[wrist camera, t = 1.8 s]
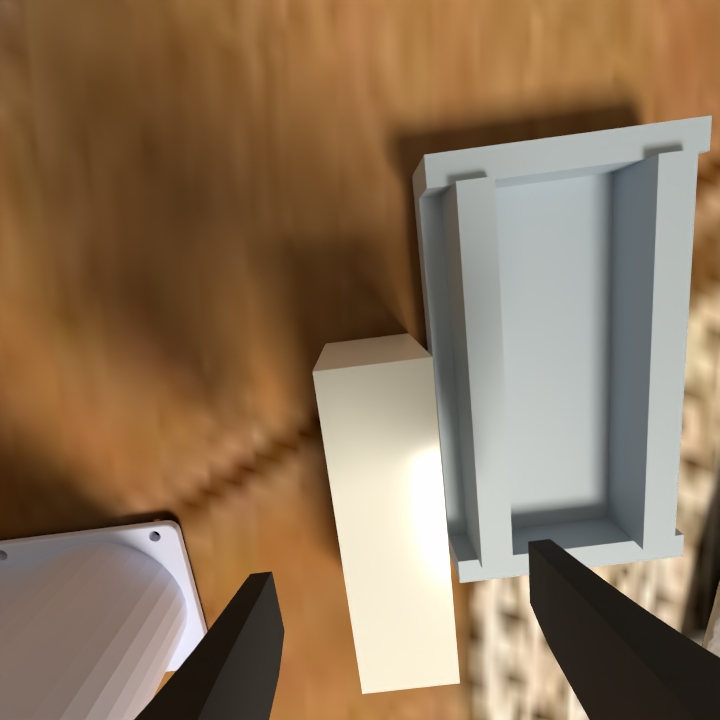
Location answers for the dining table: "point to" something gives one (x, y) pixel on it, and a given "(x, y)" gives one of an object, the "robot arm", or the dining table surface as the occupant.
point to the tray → (560, 340)
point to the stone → (713, 628)
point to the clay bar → (389, 508)
